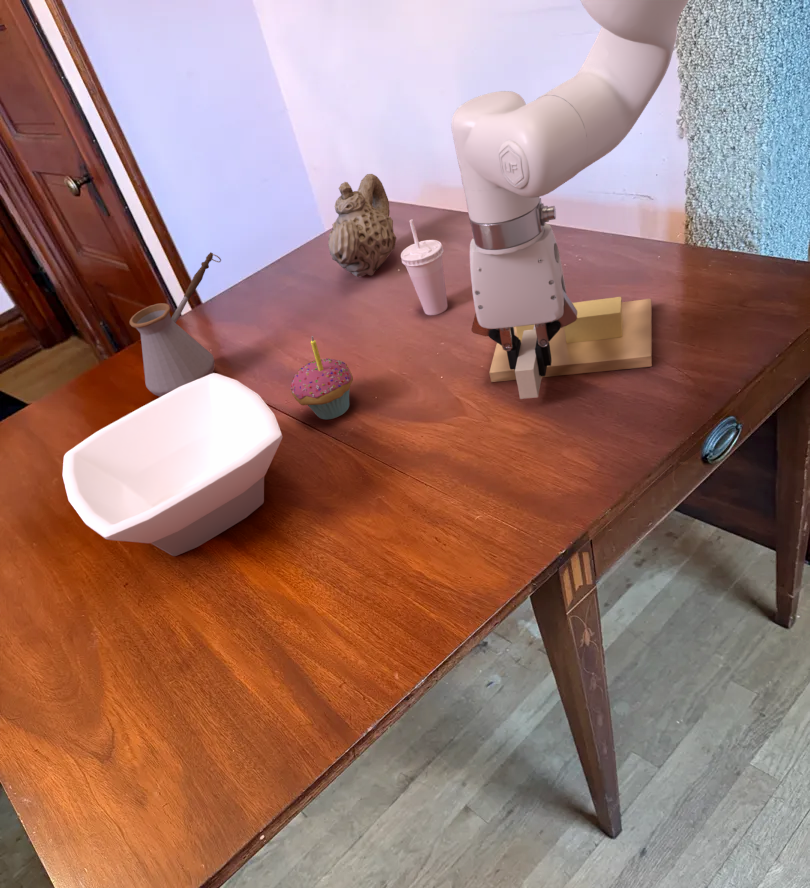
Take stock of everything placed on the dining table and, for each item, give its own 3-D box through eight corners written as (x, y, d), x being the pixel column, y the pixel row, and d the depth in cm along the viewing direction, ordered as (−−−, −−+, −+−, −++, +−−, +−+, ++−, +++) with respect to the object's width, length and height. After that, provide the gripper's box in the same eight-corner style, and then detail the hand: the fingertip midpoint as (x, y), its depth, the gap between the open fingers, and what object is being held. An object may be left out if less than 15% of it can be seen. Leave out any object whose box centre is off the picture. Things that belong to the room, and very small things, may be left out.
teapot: (379, 294, 126) (351, 205, 116) (320, 299, 130) (289, 214, 120) (420, 236, 139) (398, 151, 129) (365, 242, 144) (340, 161, 134)
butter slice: (541, 330, 101) (538, 307, 98) (538, 346, 98) (534, 322, 96) (523, 332, 102) (519, 309, 99) (519, 348, 99) (515, 325, 97)
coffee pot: (185, 412, 114) (136, 324, 104) (140, 402, 120) (90, 318, 110) (274, 337, 124) (238, 251, 114) (229, 331, 131) (190, 249, 121)
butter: (623, 320, 97) (621, 296, 95) (622, 337, 95) (620, 312, 92) (568, 327, 100) (565, 303, 97) (566, 343, 97) (563, 319, 95)
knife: (538, 397, 90) (533, 369, 87) (520, 399, 90) (514, 371, 88) (552, 315, 102) (548, 288, 99) (536, 317, 103) (532, 290, 100)
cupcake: (374, 399, 102) (347, 321, 94) (331, 435, 99) (299, 356, 91) (333, 386, 108) (304, 311, 100) (291, 420, 104) (257, 345, 96)
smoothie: (436, 295, 120) (414, 208, 110) (464, 302, 116) (444, 212, 106) (408, 315, 117) (383, 228, 108) (436, 323, 113) (412, 233, 104)
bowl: (329, 498, 89) (299, 429, 82) (140, 614, 83) (91, 550, 76) (252, 423, 106) (222, 361, 99) (91, 515, 100) (47, 456, 93)
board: (651, 308, 100) (651, 298, 99) (651, 366, 91) (651, 356, 90) (505, 326, 107) (503, 317, 106) (491, 382, 98) (489, 372, 97)
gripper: (585, 197, 80) (600, 347, 92) (442, 222, 85) (474, 361, 98) (580, 228, 75) (596, 382, 87) (429, 252, 80) (464, 394, 93)
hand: (531, 370), depth 92 cm, fingers closed on knife, 2 cm apart
